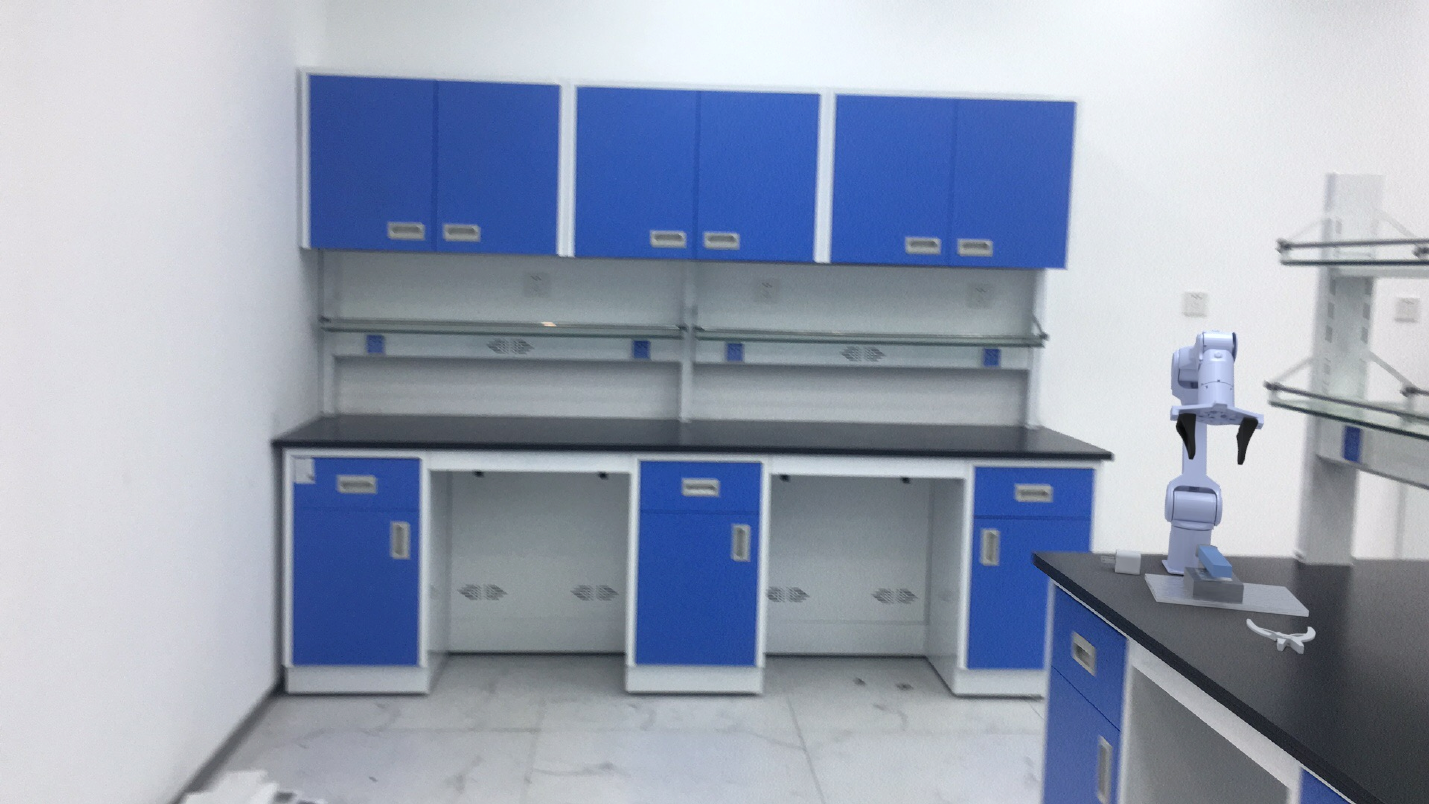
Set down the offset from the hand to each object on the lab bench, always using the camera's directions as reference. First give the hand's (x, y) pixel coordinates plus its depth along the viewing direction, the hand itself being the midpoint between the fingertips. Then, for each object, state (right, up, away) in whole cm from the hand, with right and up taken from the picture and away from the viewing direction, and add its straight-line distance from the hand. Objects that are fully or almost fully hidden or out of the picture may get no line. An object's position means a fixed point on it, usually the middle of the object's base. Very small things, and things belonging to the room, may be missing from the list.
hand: (1216, 459), depth 186 cm
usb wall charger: (-6, -23, +27) cm, 36 cm away
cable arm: (+4, -19, +11) cm, 23 cm away
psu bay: (+6, -25, +11) cm, 28 cm away
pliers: (+5, -28, -11) cm, 31 cm away
